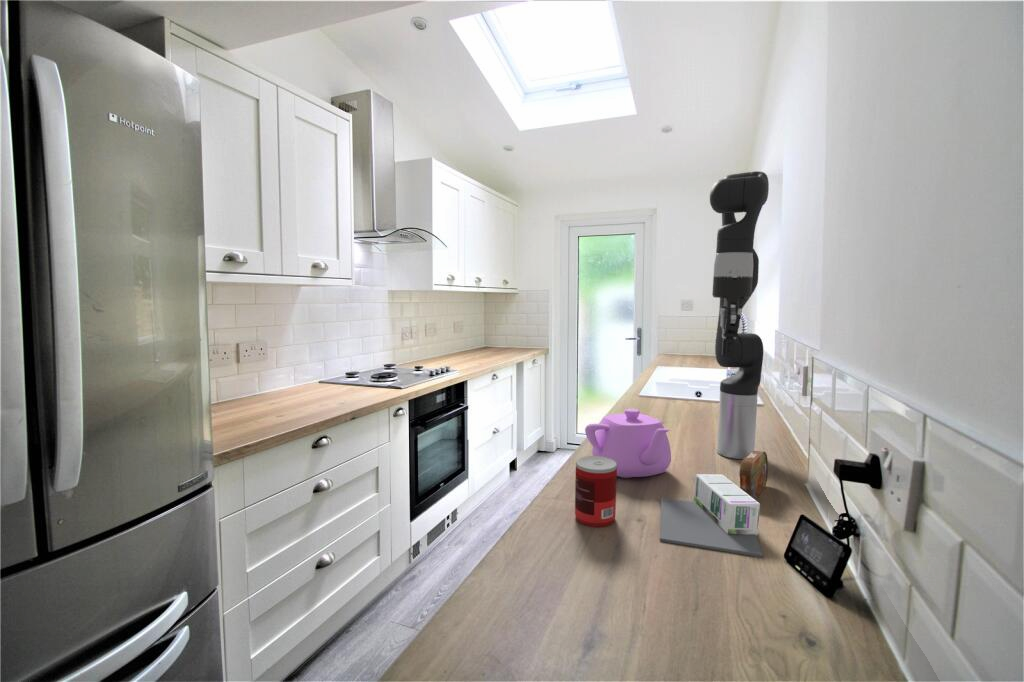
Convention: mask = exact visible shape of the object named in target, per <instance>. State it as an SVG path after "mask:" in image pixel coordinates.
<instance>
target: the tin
mask: <svg viewBox="0 0 1024 682" xmlns="http://www.w3.org/2000/svg"><path fill="white" fill-rule="evenodd" d="M768 459H769V458H768V455H767V452H766V451H764V450H763V451H760V450H759V451H758V450H754V451H752V452H750V453H749V454H748V455H747V456H746V457H745V458H744V459H742V461H741V463H740V466H739V474H738V475H739V488H740V489H742V490H743V491H744V492H746V493H747V494H748V495H749V496H751V497H752V498H753V499H755V500H756V501H757V499H758V498H759V496H760V495H761V493H762V492H763V491H764V490H765V489H766V486H767V481H768V474H769V472H768V471H769V462H768V461H769V460H768Z"/></svg>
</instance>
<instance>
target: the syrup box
mask: <svg viewBox="0 0 1024 682" xmlns="http://www.w3.org/2000/svg"><path fill="white" fill-rule="evenodd" d="M694 502H697V503H698V504H699V505H700V506H701V507H702V508H703V509H704V510H705V511H706V513H707V514H708V515H709V516H710V517H711V518H712V519H713V520H714V521H715V522H716V523H717V524H718V525H719V526H720V527H721V528H722V529H723V530H724V531H725V532H726V533H727V534H741V535H745V534H746V535H747V534H748V535H749V534H755V535H759V534H758V532H759V522H760V509H761V503H760V502H758V501H757V499H756V500H755V499H753V498H752V497H751V496H749V495H748V494H747V493H746V492H744V491H743V490H742V489H740V486H738V485H736V483H734V482H733V481H731V480H730V479H729V478H728V477H726V476H725V475H724V474H717V473H716V474H711V473H710V474H709V473H708V474H707V473H706V474H705V473H703V474H701V473H697V474H695V485H694Z"/></svg>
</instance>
